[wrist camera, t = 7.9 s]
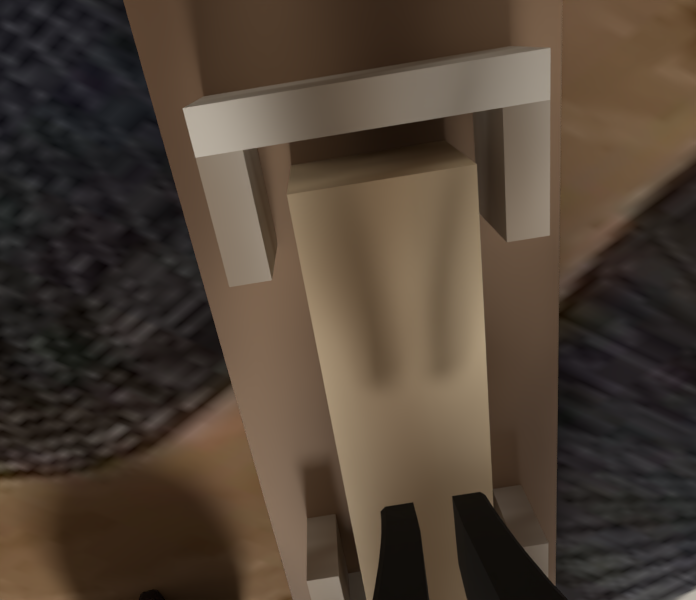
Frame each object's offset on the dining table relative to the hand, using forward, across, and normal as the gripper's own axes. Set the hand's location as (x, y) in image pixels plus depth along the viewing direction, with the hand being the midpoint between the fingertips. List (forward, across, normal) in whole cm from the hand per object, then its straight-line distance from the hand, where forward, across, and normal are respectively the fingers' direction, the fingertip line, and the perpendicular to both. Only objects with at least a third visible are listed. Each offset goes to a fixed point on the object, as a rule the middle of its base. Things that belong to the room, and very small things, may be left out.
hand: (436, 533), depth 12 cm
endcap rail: (+7, 0, 0) cm, 7 cm away
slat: (+6, 0, 0) cm, 6 cm away
